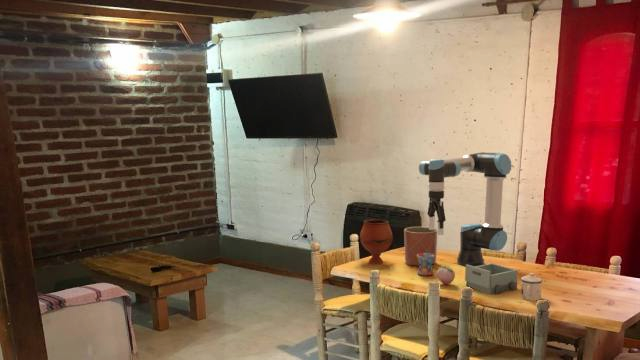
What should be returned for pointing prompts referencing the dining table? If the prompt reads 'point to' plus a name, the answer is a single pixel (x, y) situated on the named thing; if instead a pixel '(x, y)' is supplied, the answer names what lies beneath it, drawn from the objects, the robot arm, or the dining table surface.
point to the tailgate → (477, 276)
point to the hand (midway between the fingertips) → (436, 232)
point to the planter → (419, 243)
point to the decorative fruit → (445, 275)
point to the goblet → (376, 238)
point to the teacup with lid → (531, 287)
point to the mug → (425, 264)
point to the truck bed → (497, 279)
